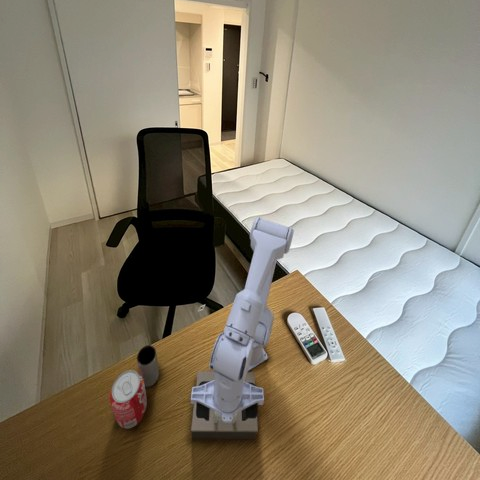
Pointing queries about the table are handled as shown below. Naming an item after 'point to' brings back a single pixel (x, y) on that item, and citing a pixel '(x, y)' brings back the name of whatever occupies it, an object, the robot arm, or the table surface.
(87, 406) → the table surface
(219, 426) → the lid
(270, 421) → the table surface
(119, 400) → the soda can
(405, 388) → the table surface
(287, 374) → the table surface
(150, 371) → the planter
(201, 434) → the dark grey open box
